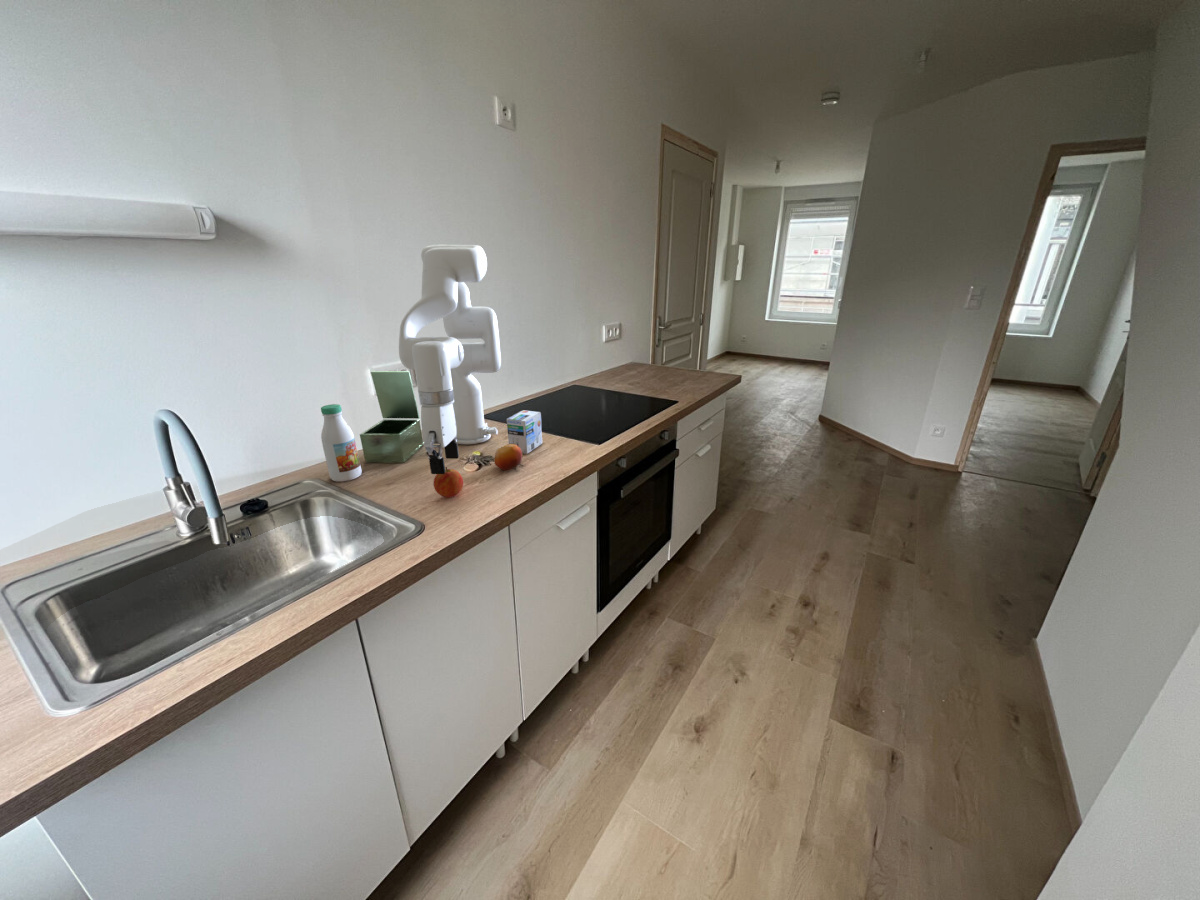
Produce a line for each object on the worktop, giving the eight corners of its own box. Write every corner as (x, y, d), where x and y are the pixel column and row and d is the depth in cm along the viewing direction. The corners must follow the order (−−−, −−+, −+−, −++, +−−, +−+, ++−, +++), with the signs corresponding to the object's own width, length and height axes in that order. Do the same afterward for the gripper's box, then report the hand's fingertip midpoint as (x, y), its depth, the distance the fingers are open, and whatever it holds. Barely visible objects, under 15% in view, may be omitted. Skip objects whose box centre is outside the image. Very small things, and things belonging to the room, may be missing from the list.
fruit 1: (438, 490, 116) (434, 461, 113) (466, 488, 117) (463, 460, 114) (433, 503, 109) (428, 473, 106) (462, 501, 110) (458, 471, 107)
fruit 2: (523, 469, 124) (507, 445, 122) (501, 481, 127) (485, 457, 125) (533, 458, 131) (518, 435, 130) (512, 469, 134) (497, 447, 132)
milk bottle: (329, 484, 119) (311, 411, 112) (332, 473, 126) (315, 404, 119) (361, 479, 122) (346, 408, 115) (363, 468, 129) (348, 400, 121)
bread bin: (404, 462, 133) (399, 434, 130) (365, 462, 133) (359, 434, 130) (423, 445, 146) (419, 419, 143) (388, 445, 147) (383, 419, 143)
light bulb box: (527, 454, 138) (525, 421, 135) (508, 451, 141) (505, 418, 137) (543, 443, 148) (541, 411, 144) (525, 440, 150) (522, 409, 146)
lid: (408, 372, 135) (414, 366, 139) (370, 372, 135) (377, 366, 140) (418, 418, 143) (424, 412, 147) (382, 418, 143) (389, 412, 147)
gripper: (434, 388, 112) (443, 452, 118) (404, 406, 95) (415, 480, 101) (464, 388, 111) (471, 453, 117) (439, 406, 95) (448, 480, 101)
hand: (445, 465), depth 109 cm, fingers open, 9 cm apart
